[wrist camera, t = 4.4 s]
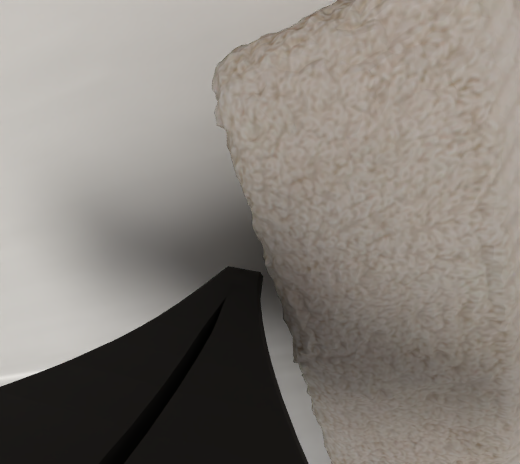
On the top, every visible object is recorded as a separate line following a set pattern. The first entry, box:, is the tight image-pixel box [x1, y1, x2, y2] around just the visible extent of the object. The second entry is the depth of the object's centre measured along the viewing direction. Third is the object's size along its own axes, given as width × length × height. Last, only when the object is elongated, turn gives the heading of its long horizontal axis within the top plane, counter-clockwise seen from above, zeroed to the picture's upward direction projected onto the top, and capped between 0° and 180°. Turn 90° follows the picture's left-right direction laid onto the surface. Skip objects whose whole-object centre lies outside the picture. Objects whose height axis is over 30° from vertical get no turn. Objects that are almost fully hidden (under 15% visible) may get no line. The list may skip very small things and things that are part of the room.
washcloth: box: [212, 0, 520, 464], centre depth 8 cm, size 12×18×3 cm, turn 19°
